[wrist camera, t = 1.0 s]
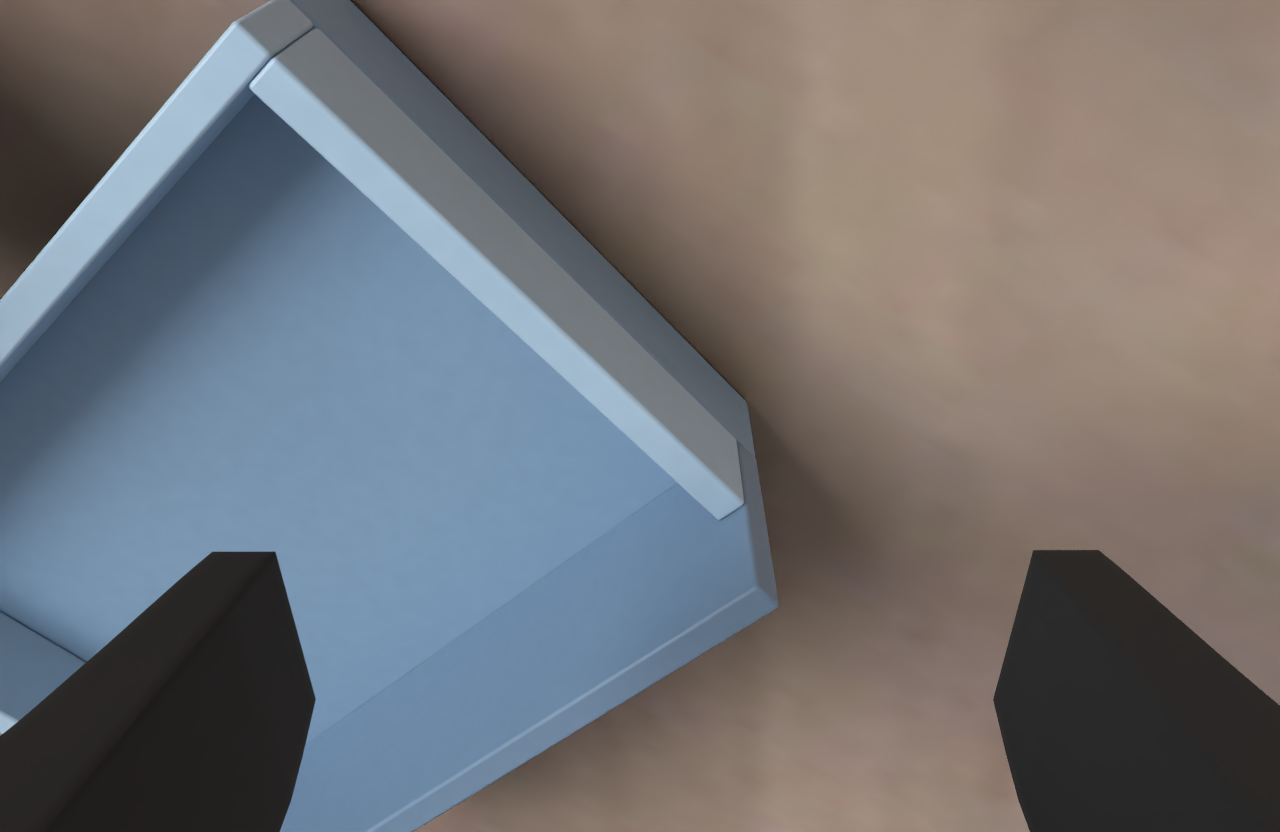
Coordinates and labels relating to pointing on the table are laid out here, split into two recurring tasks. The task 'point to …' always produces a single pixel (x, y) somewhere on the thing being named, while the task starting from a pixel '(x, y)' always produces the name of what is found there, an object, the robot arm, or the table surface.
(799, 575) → the table surface
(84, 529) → the light blue shelf
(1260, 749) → the robot arm
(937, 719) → the table surface
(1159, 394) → the table surface
